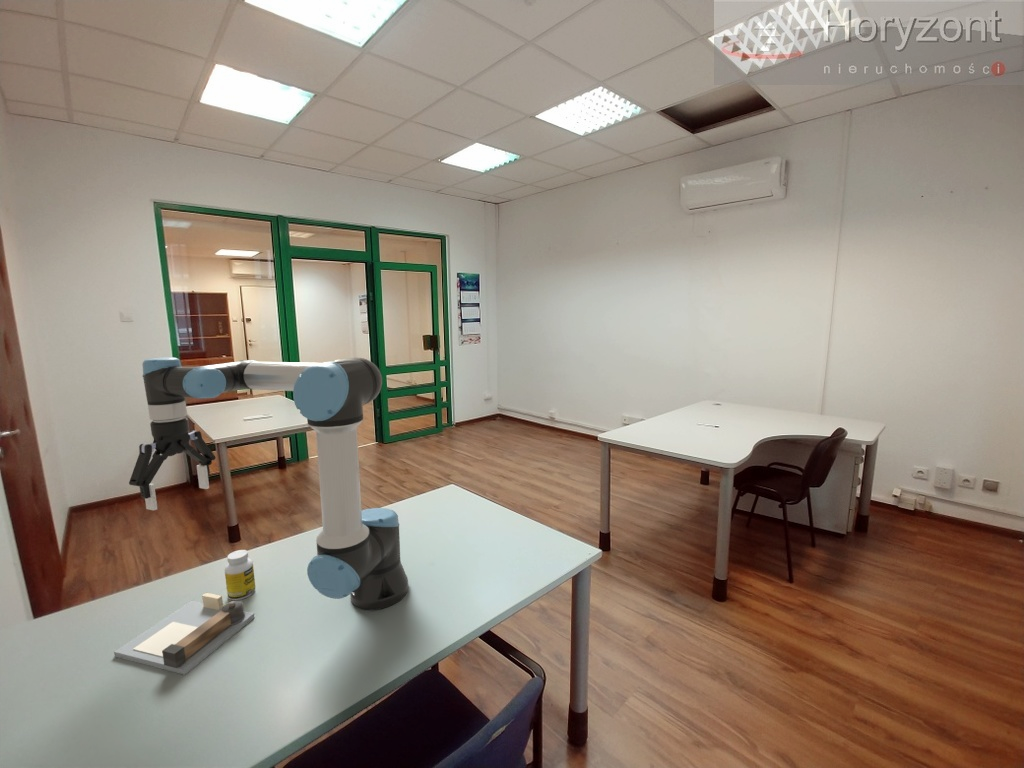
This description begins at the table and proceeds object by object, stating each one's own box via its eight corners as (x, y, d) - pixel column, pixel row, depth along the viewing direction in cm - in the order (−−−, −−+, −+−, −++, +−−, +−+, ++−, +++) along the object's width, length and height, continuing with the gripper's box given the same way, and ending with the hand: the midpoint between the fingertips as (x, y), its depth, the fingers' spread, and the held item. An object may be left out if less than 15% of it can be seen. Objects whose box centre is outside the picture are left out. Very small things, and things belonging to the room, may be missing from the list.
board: (254, 617, 110) (252, 601, 109) (184, 674, 92) (182, 656, 92) (191, 604, 115) (189, 589, 114) (114, 656, 97) (111, 638, 97)
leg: (234, 610, 110) (232, 595, 109) (248, 613, 109) (246, 598, 108) (162, 664, 93) (159, 647, 92) (178, 668, 92) (176, 651, 91)
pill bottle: (242, 603, 115) (238, 562, 113) (221, 599, 117) (217, 559, 115) (261, 587, 122) (257, 549, 120) (241, 585, 123) (237, 546, 121)
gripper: (204, 407, 124) (213, 479, 127) (100, 430, 100) (115, 517, 104) (224, 409, 122) (233, 481, 125) (124, 432, 98) (137, 521, 101)
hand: (179, 498), depth 114 cm, fingers open, 13 cm apart
